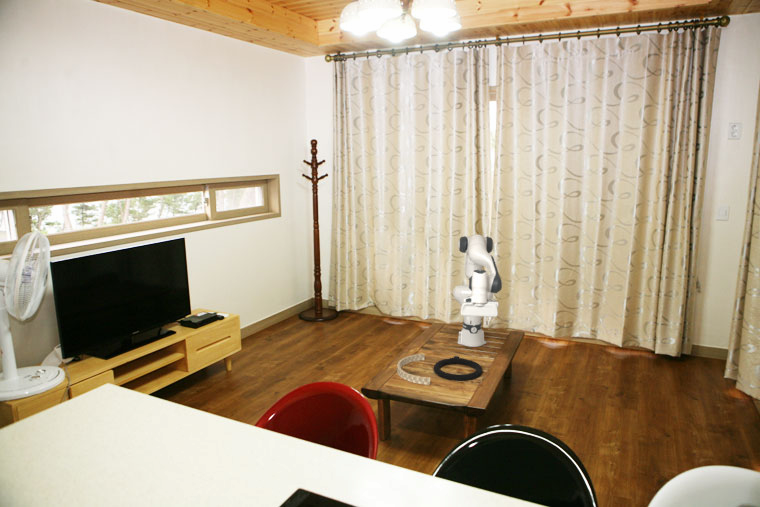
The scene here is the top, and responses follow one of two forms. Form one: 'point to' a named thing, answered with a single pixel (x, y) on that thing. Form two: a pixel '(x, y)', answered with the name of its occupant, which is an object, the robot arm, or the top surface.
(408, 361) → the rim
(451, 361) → the cable lock
